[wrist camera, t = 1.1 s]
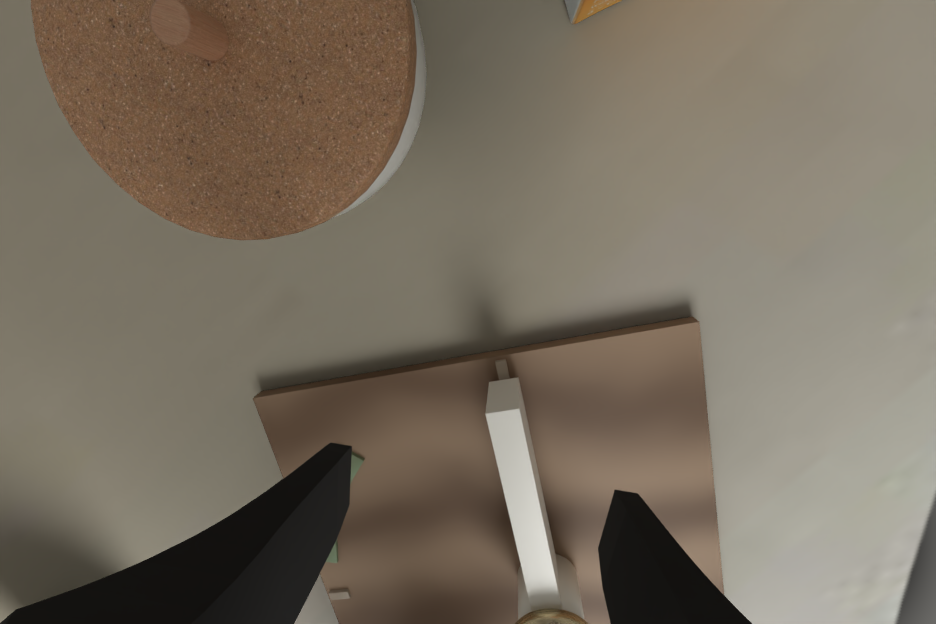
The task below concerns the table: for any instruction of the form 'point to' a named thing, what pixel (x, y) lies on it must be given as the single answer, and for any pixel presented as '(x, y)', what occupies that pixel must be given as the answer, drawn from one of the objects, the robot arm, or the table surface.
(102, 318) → the table surface
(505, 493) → the peg lever
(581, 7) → the small box
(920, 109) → the table surface
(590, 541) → the board
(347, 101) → the lidded jar
